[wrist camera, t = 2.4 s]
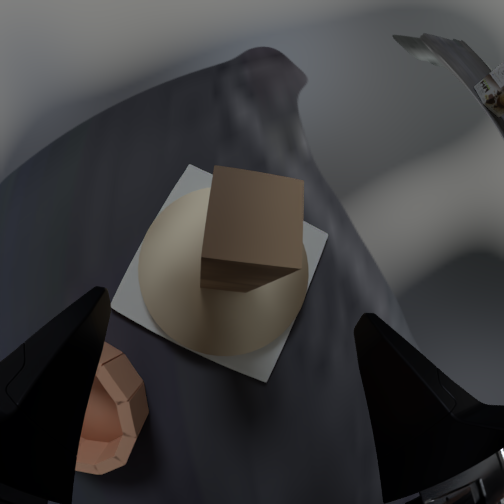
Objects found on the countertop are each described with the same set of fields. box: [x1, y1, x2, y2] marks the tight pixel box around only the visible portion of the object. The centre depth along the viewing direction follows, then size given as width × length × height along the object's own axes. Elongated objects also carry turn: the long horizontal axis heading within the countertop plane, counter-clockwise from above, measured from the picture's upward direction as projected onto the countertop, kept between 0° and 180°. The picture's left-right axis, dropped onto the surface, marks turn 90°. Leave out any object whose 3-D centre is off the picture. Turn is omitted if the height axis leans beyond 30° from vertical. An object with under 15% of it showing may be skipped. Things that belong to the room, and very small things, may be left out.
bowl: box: [75, 341, 149, 475], centre depth 13 cm, size 9×9×4 cm
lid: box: [138, 165, 309, 356], centre depth 13 cm, size 12×12×11 cm
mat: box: [111, 164, 328, 383], centre depth 19 cm, size 12×12×1 cm
